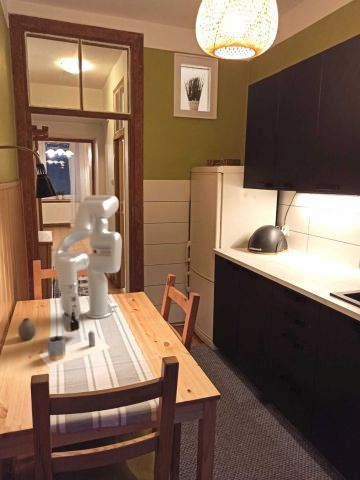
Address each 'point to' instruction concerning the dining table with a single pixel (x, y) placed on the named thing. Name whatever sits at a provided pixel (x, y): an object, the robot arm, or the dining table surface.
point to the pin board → (78, 350)
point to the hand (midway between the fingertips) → (71, 326)
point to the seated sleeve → (56, 348)
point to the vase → (26, 329)
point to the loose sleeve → (68, 322)
